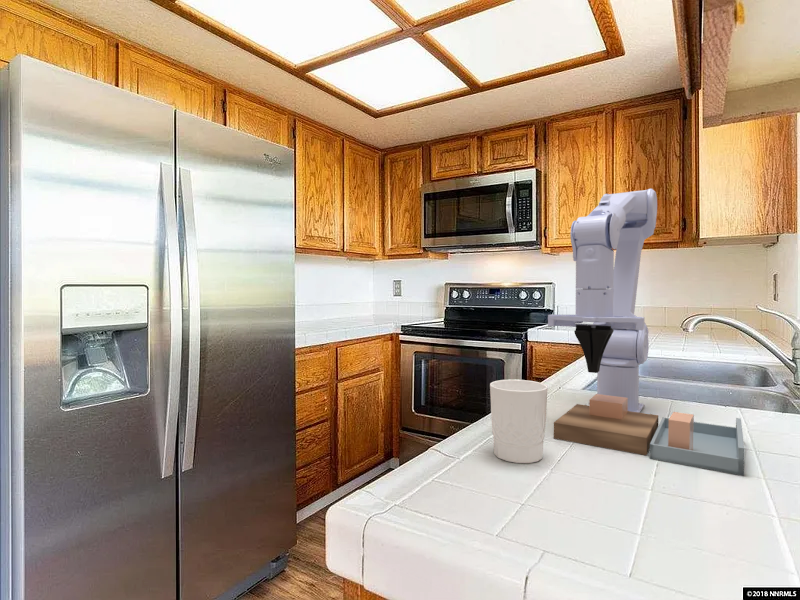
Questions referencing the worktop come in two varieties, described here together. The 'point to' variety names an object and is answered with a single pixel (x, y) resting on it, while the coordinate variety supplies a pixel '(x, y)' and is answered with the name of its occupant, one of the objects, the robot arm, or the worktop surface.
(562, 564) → the worktop surface
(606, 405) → the tile far
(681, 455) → the tray
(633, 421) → the board
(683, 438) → the tile near
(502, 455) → the white cup
